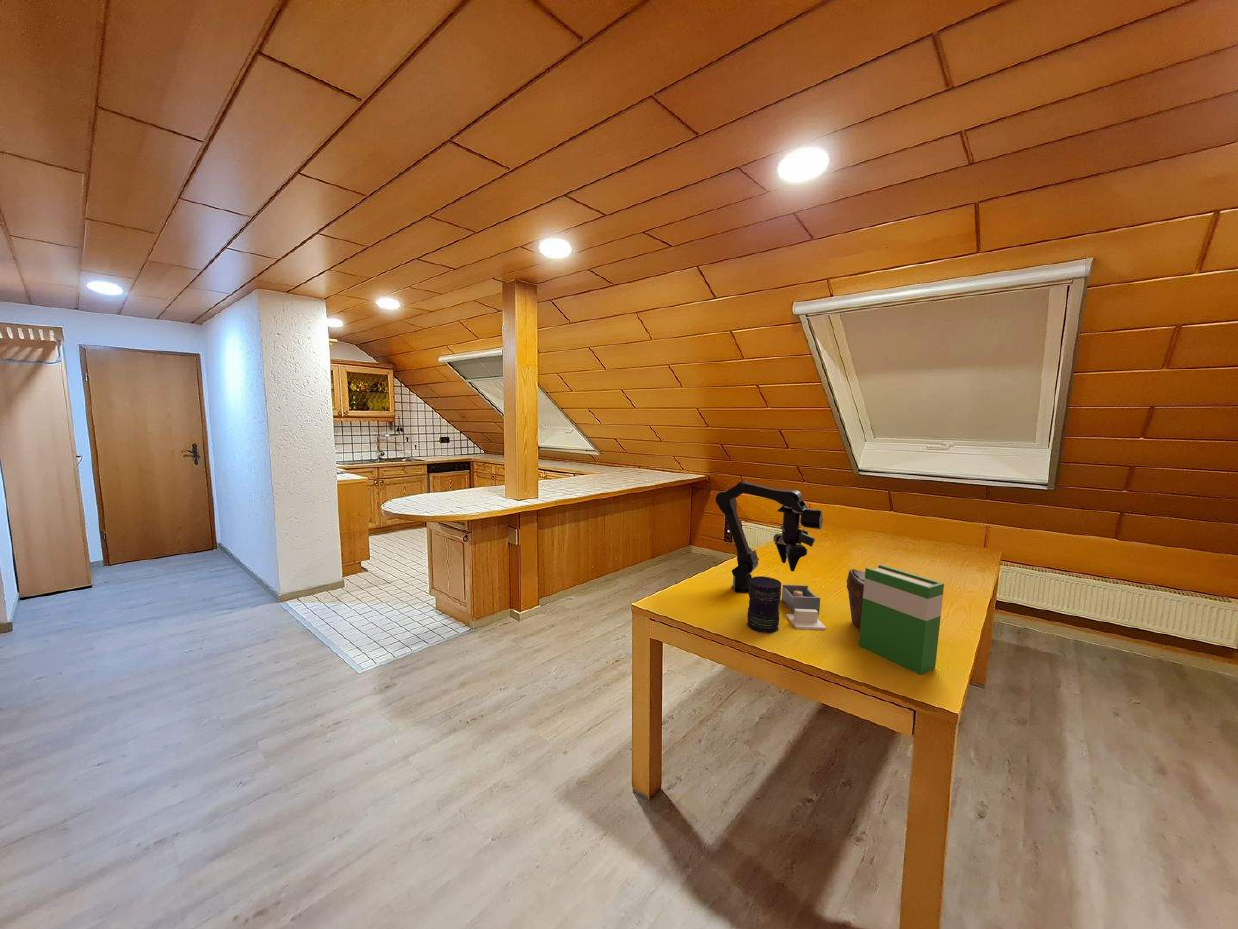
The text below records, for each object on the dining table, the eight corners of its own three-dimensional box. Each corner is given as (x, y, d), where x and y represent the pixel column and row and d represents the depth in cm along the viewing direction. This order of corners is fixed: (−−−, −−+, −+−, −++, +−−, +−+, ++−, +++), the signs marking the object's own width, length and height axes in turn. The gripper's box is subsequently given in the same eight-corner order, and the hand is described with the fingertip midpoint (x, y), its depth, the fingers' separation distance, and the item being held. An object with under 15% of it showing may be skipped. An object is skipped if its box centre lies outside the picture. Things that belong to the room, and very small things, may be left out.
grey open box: (792, 613, 166) (794, 597, 165) (781, 599, 178) (782, 584, 177) (819, 614, 166) (820, 598, 165) (806, 600, 178) (807, 585, 177)
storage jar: (774, 636, 148) (777, 589, 147) (742, 628, 154) (745, 582, 152) (782, 625, 157) (785, 580, 155) (752, 617, 162) (754, 574, 160)
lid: (795, 630, 154) (796, 616, 154) (785, 617, 164) (786, 603, 164) (825, 631, 154) (826, 617, 154) (814, 618, 164) (815, 605, 163)
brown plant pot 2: (924, 638, 150) (929, 582, 148) (866, 642, 146) (870, 585, 145) (884, 615, 167) (887, 564, 165) (831, 618, 164) (834, 566, 162)
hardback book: (858, 646, 144) (865, 568, 141) (873, 641, 147) (880, 564, 145) (920, 675, 129) (929, 588, 126) (935, 668, 132) (944, 583, 130)
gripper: (823, 532, 165) (820, 576, 167) (803, 519, 184) (800, 559, 186) (791, 531, 165) (788, 575, 167) (774, 519, 184) (771, 558, 186)
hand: (788, 567), depth 176 cm, fingers open, 9 cm apart
